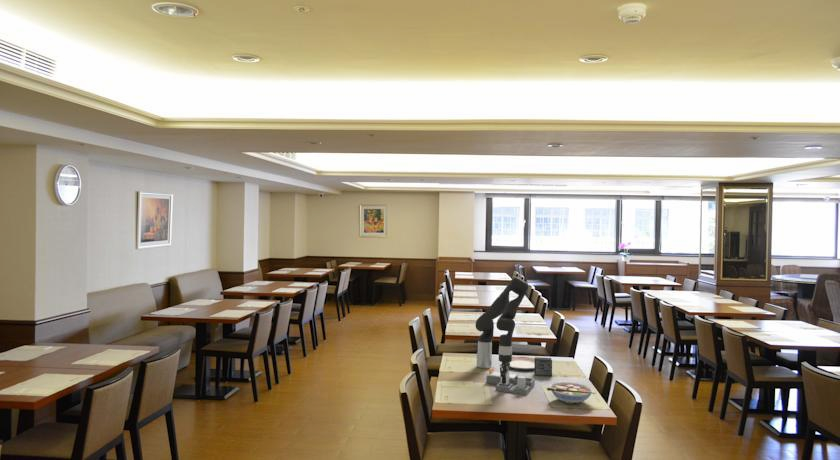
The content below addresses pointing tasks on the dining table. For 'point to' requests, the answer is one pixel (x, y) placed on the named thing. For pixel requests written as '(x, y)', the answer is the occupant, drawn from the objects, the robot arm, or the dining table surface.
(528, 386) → the housing
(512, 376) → the lid
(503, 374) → the white jaw block
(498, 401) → the dining table surface
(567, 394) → the ramen bowl
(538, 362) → the small box
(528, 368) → the dinner plate
